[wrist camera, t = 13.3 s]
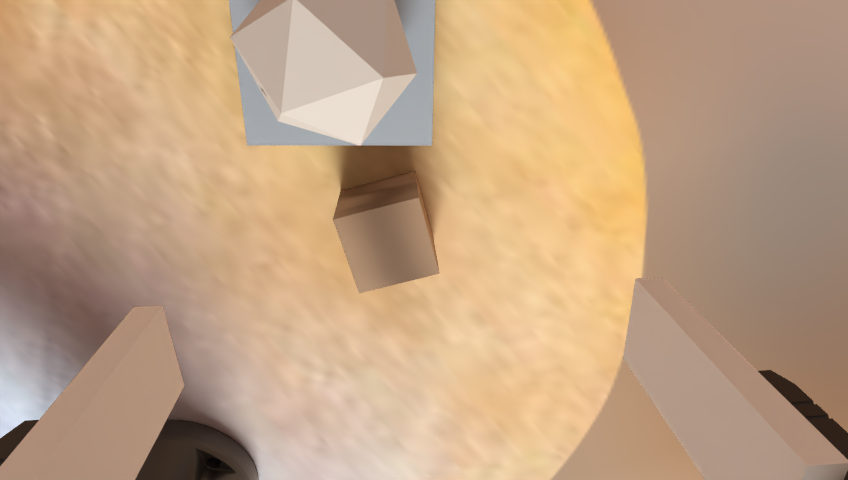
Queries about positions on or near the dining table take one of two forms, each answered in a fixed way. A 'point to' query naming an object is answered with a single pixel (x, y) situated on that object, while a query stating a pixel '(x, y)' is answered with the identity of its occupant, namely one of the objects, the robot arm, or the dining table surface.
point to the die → (327, 62)
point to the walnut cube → (386, 232)
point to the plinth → (399, 124)
